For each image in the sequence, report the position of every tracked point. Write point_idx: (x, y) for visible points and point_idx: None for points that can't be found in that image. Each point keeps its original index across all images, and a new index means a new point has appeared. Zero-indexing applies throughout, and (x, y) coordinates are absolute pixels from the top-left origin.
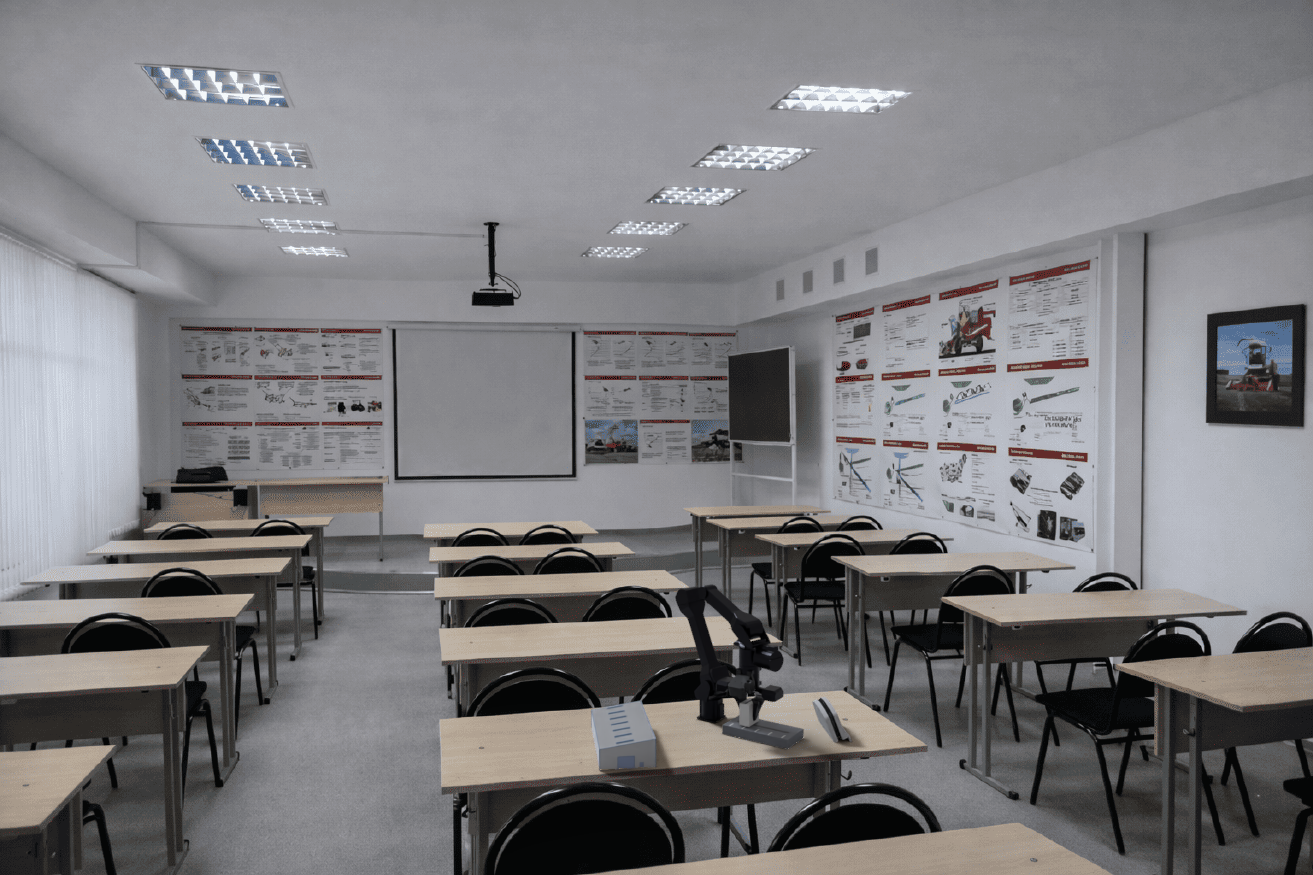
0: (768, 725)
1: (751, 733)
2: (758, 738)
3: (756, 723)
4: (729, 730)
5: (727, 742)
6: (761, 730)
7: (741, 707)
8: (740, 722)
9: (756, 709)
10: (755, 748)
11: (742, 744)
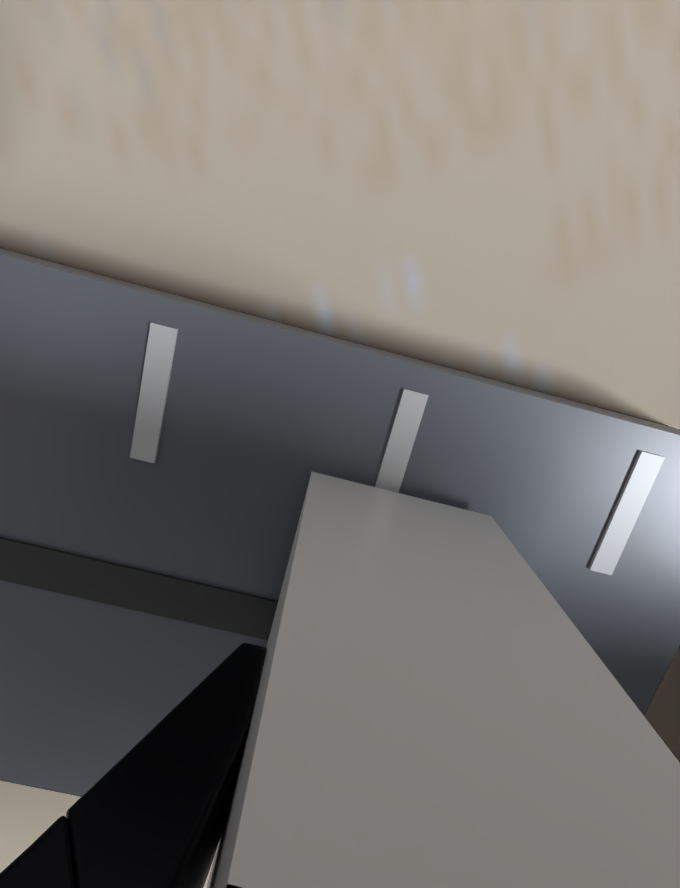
0: (65, 660)
1: (232, 314)
2: (126, 284)
3: None
4: (607, 412)
5: (561, 125)
6: (86, 430)
7: (635, 820)
8: (482, 529)
9: (26, 855)
10: (112, 24)
11: (335, 124)
